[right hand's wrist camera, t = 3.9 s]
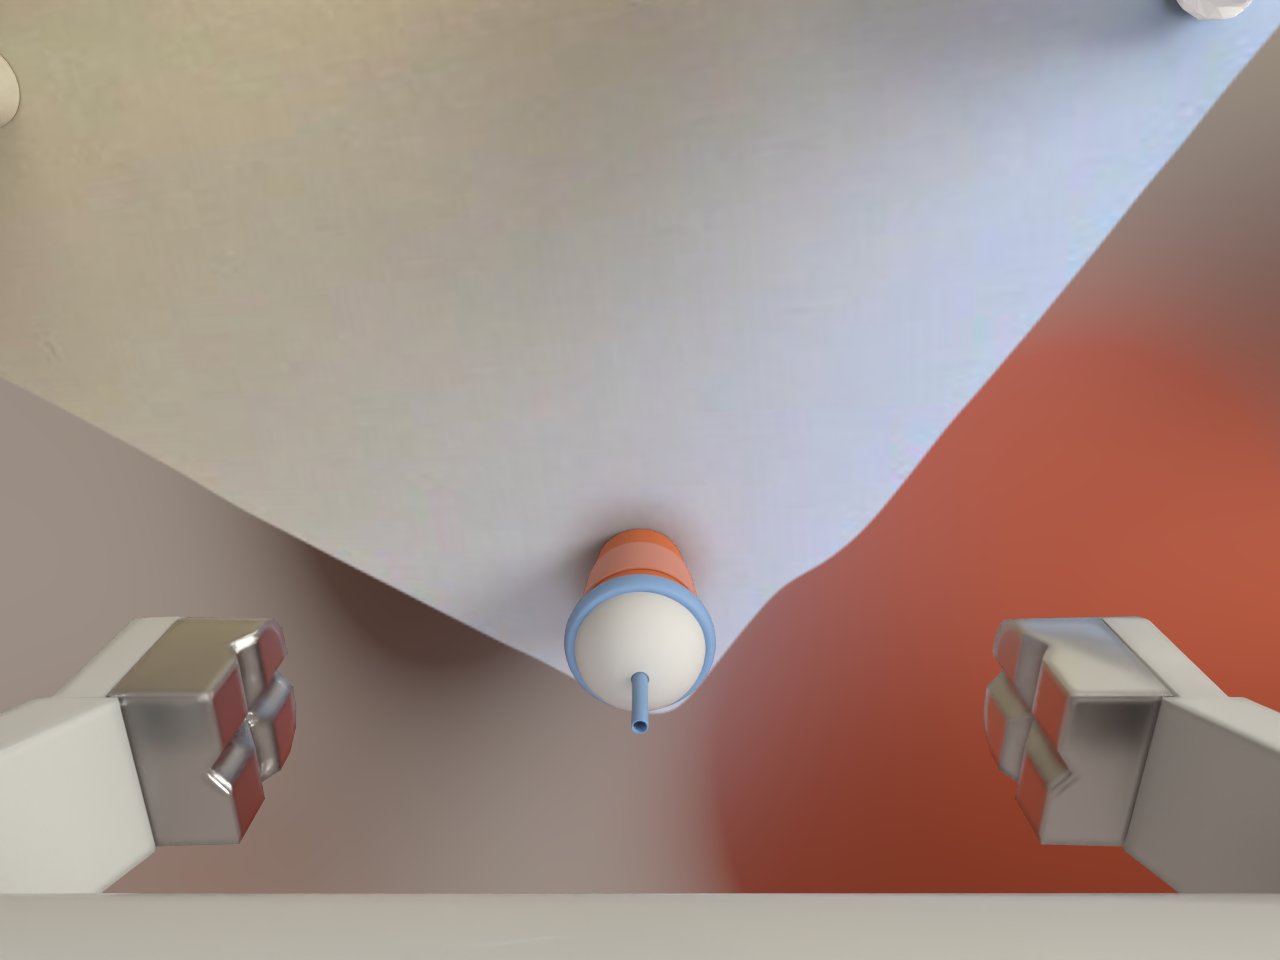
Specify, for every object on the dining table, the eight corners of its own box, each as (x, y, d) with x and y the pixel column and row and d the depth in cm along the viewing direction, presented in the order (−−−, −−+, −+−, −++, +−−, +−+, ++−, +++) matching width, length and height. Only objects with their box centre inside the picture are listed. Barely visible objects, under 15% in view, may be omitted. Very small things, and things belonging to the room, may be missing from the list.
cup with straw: (564, 610, 65) (537, 780, 48) (589, 496, 61) (570, 636, 45) (687, 634, 65) (703, 810, 49) (718, 522, 62) (747, 670, 45)
